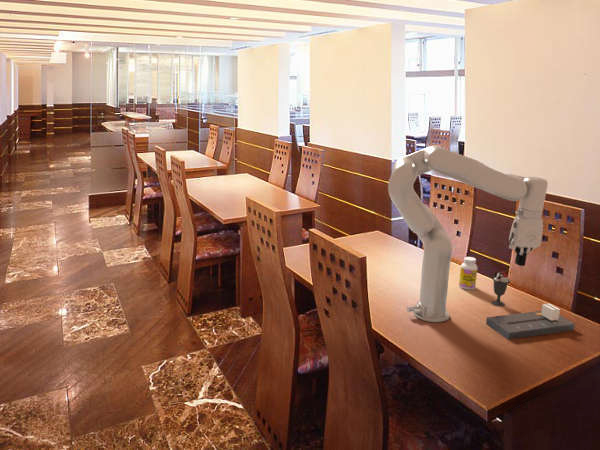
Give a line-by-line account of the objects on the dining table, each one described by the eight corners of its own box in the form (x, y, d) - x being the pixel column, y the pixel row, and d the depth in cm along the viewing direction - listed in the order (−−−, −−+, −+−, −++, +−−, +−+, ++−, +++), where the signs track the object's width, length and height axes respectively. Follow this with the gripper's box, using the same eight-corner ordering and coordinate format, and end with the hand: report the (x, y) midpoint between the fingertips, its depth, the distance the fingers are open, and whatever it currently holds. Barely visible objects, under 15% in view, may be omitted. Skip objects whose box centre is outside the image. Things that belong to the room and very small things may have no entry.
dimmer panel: (508, 339, 165) (509, 332, 164) (486, 323, 176) (486, 317, 176) (574, 330, 172) (575, 323, 172) (548, 315, 183) (549, 309, 183)
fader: (551, 320, 173) (553, 309, 172) (541, 314, 178) (542, 304, 176) (558, 319, 174) (560, 308, 173) (547, 313, 178) (549, 303, 177)
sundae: (508, 308, 190) (513, 271, 186) (490, 306, 191) (494, 269, 187) (505, 301, 196) (510, 265, 192) (487, 299, 197) (492, 264, 193)
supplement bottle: (459, 289, 207) (462, 260, 204) (457, 283, 213) (460, 255, 210) (476, 290, 206) (479, 261, 203) (473, 284, 212) (476, 256, 209)
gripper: (517, 216, 162) (508, 269, 167) (555, 216, 166) (545, 267, 171) (503, 211, 169) (494, 261, 174) (540, 211, 173) (530, 260, 178)
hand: (519, 264), depth 172 cm, fingers closed
